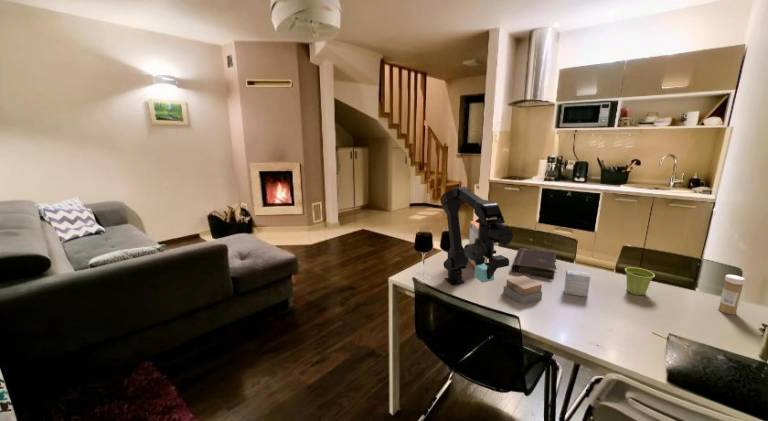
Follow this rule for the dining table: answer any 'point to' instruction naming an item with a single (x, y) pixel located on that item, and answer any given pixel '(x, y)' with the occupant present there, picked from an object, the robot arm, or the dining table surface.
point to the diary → (535, 262)
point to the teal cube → (482, 273)
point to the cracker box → (474, 237)
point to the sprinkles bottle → (731, 294)
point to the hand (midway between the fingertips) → (484, 276)
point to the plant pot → (638, 280)
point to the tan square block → (524, 285)
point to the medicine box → (577, 283)
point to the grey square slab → (521, 298)
